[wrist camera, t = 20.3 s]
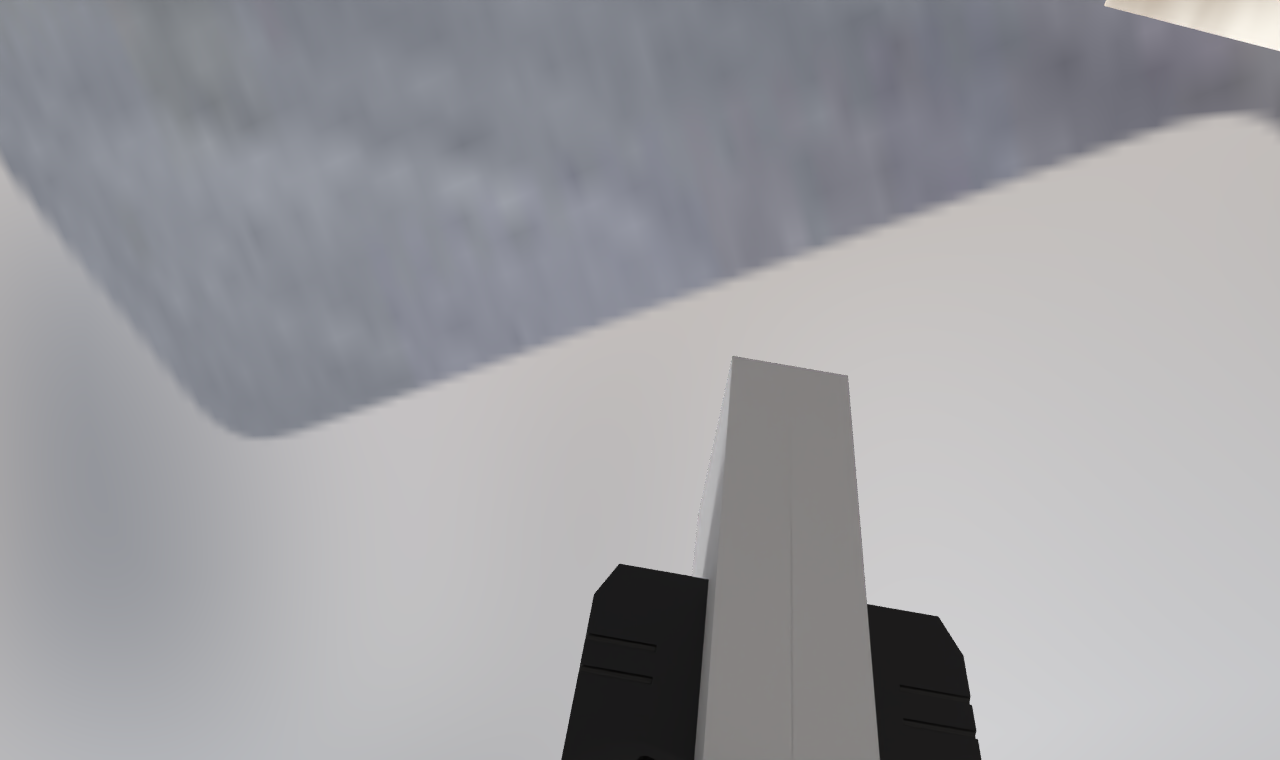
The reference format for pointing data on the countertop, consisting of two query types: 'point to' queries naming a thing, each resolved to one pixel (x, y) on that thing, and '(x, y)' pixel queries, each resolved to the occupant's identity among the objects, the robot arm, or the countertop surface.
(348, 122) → the countertop surface
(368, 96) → the countertop surface
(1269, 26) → the domino
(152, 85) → the countertop surface
